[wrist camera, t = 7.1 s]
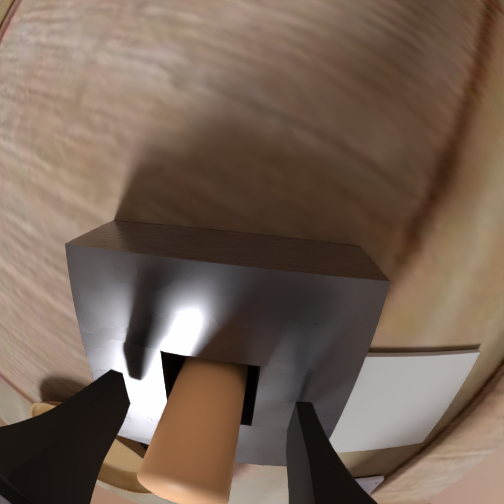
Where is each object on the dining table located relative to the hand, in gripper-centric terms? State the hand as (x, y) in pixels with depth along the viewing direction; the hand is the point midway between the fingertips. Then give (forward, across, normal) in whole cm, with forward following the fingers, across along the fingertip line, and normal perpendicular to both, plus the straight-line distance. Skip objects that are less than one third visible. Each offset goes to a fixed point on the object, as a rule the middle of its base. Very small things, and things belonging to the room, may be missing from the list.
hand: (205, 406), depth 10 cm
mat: (+5, -12, +5) cm, 14 cm away
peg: (+5, 0, 0) cm, 5 cm away
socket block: (+5, 0, 0) cm, 5 cm away
